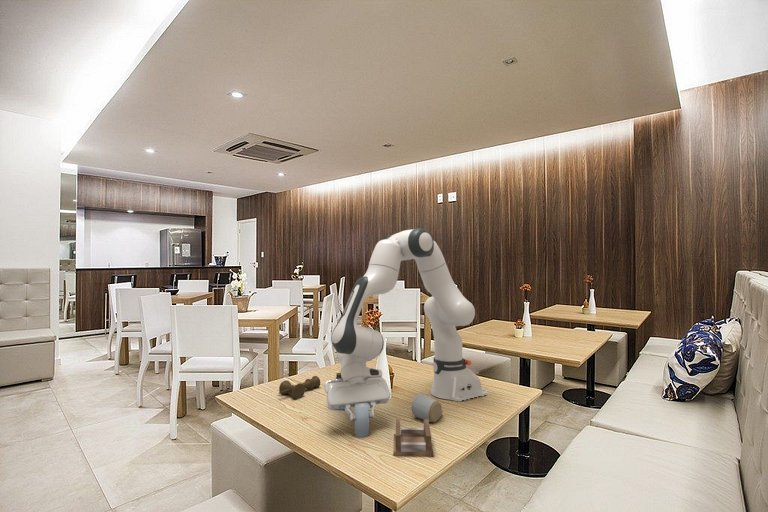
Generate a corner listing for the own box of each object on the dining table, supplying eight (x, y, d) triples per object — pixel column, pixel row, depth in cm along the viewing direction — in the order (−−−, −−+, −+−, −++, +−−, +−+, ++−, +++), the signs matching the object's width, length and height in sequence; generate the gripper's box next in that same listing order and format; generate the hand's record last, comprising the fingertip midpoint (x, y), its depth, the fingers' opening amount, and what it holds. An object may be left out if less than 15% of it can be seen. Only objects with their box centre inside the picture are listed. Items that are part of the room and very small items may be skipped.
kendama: (325, 390, 158) (286, 403, 142) (309, 386, 164) (270, 399, 148) (325, 376, 159) (286, 387, 143) (309, 372, 164) (270, 383, 148)
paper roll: (366, 430, 120) (366, 401, 120) (370, 436, 116) (370, 406, 116) (353, 431, 119) (353, 402, 119) (356, 438, 114) (356, 407, 115)
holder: (430, 437, 115) (430, 419, 115) (433, 456, 104) (433, 436, 104) (393, 437, 115) (393, 418, 115) (393, 455, 104) (393, 435, 104)
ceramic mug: (430, 426, 123) (430, 402, 123) (410, 419, 128) (410, 396, 128) (448, 417, 130) (449, 394, 131) (429, 410, 136) (429, 389, 136)
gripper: (324, 375, 121) (330, 418, 111) (385, 370, 127) (395, 410, 118) (322, 385, 125) (327, 427, 116) (382, 379, 131) (391, 419, 122)
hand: (362, 418), depth 117 cm, fingers closed on paper roll, 4 cm apart
